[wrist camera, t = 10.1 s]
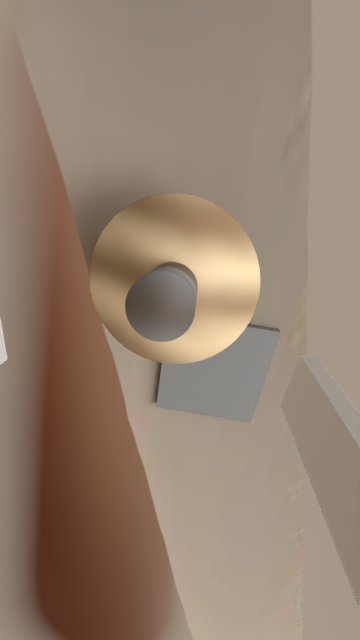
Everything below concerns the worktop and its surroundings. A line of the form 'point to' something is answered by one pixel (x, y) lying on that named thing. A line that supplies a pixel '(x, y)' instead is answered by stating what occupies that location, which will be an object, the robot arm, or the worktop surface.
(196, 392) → the mat
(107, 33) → the worktop surface
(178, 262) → the lid
